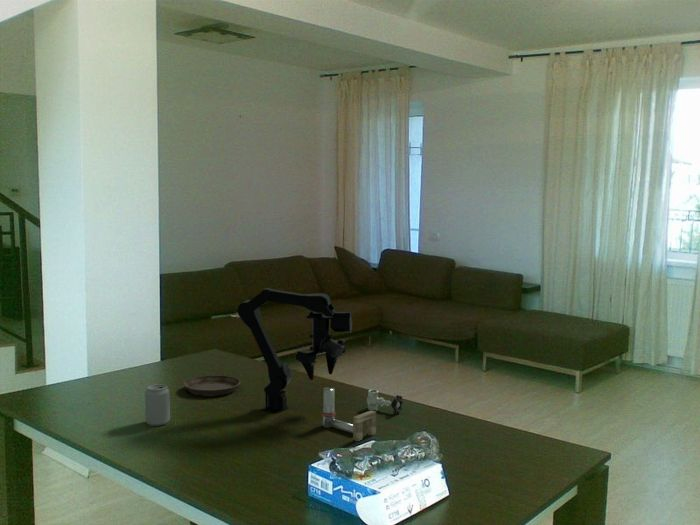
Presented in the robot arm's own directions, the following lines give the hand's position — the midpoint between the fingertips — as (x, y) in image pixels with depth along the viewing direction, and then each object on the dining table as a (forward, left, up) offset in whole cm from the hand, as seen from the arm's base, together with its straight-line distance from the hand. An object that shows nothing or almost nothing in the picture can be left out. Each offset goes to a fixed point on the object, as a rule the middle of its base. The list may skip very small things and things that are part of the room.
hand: (321, 376), depth 227 cm
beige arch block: (+24, -15, -12) cm, 31 cm away
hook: (+14, -13, -12) cm, 22 cm away
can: (-41, -34, -12) cm, 55 cm away
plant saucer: (-48, +3, -13) cm, 50 cm away
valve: (+18, +10, -12) cm, 25 cm away
